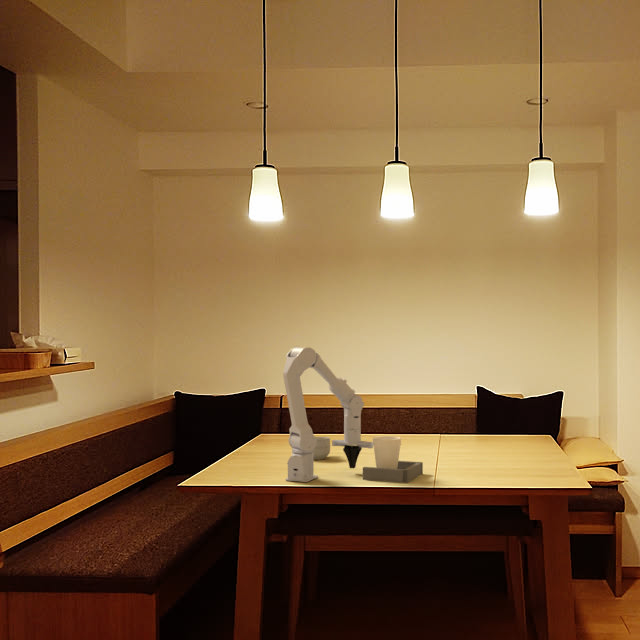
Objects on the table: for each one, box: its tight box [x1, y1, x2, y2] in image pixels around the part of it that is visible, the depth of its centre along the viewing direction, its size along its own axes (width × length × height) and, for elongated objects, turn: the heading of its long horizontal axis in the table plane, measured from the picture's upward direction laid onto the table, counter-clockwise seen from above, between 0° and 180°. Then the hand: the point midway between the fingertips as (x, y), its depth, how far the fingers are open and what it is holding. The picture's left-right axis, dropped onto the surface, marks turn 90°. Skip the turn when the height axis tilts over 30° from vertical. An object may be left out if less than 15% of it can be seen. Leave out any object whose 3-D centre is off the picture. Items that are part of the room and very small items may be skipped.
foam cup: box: [372, 435, 402, 469], centre depth 280 cm, size 10×9×13 cm
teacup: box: [313, 436, 331, 461], centre depth 318 cm, size 14×11×8 cm
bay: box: [362, 460, 424, 484], centre depth 279 cm, size 17×16×4 cm
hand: (352, 467), depth 285 cm, fingers closed
